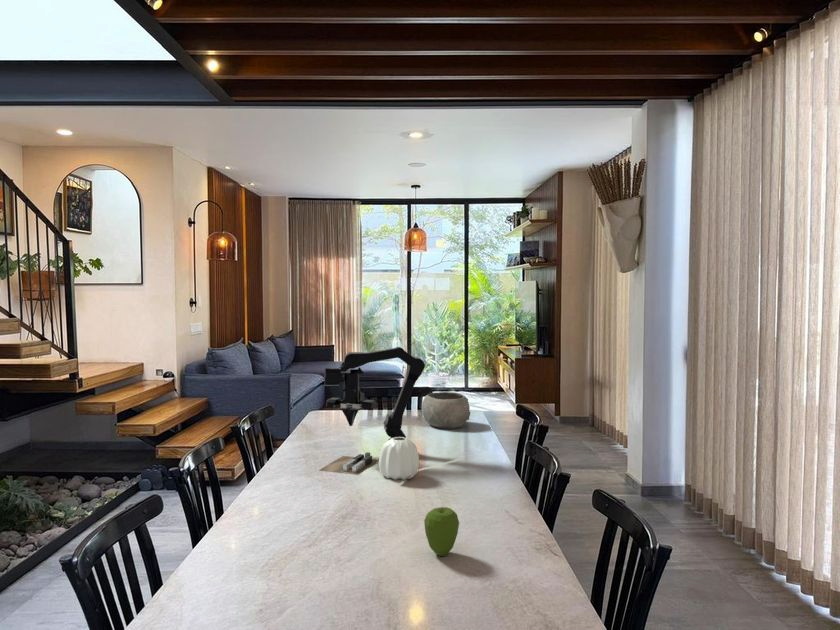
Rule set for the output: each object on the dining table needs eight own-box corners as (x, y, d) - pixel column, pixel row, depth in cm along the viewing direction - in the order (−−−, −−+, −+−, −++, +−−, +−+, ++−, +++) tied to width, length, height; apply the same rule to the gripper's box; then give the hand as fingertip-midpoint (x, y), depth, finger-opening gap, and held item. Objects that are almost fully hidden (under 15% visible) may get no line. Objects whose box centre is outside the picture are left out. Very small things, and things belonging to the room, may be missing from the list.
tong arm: (364, 460, 221) (364, 454, 221) (347, 471, 207) (347, 464, 207) (359, 459, 222) (359, 454, 222) (342, 470, 208) (342, 464, 208)
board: (379, 461, 223) (379, 459, 223) (358, 477, 204) (358, 474, 204) (342, 457, 228) (342, 455, 228) (318, 472, 208) (318, 470, 208)
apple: (438, 543, 150) (439, 498, 150) (465, 553, 145) (466, 506, 145) (416, 554, 144) (417, 507, 143) (444, 565, 138) (445, 516, 138)
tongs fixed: (376, 458, 224) (376, 452, 224) (356, 472, 206) (356, 465, 206) (367, 458, 225) (367, 451, 225) (347, 471, 207) (347, 464, 207)
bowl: (415, 428, 279) (415, 396, 279) (428, 419, 301) (429, 389, 301) (463, 432, 272) (464, 400, 272) (473, 422, 294) (474, 392, 294)
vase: (414, 484, 197) (414, 444, 196) (373, 481, 200) (374, 441, 199) (422, 472, 210) (423, 435, 210) (384, 469, 213) (384, 432, 213)
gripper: (381, 383, 234) (381, 423, 234) (337, 381, 239) (337, 419, 240) (371, 388, 223) (370, 429, 223) (325, 385, 228) (325, 425, 229)
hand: (351, 425), depth 229 cm, fingers closed
